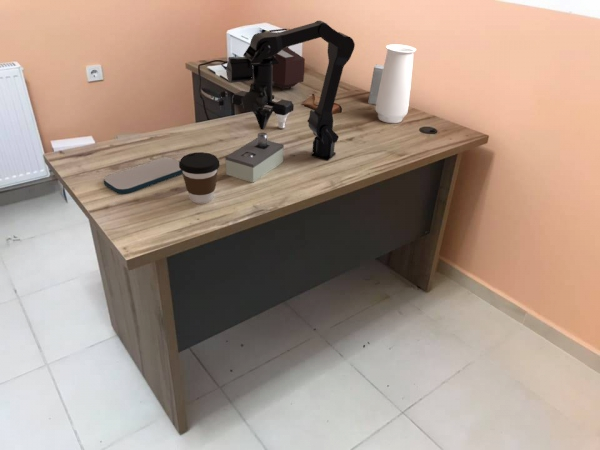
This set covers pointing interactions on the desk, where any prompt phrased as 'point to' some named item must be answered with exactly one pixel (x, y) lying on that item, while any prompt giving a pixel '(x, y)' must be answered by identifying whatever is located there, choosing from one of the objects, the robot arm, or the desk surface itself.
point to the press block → (254, 160)
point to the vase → (395, 84)
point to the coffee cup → (200, 175)
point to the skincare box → (375, 84)
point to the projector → (287, 67)
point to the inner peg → (262, 140)
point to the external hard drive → (143, 175)
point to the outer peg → (248, 155)
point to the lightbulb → (281, 120)
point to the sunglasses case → (314, 101)
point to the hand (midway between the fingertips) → (262, 129)
